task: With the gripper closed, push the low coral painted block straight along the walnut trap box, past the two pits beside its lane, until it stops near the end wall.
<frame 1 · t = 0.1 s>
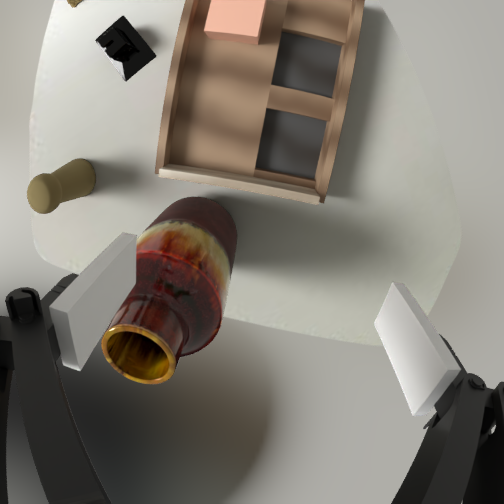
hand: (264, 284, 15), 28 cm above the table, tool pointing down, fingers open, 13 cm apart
trap box: (260, 77, 35), on the table
block: (238, 21, 30), point 2 cm above the table, touching trap box
black piece: (125, 47, 34), on the table
cork: (80, 177, 41), on the table
vase: (200, 228, 44), on the table
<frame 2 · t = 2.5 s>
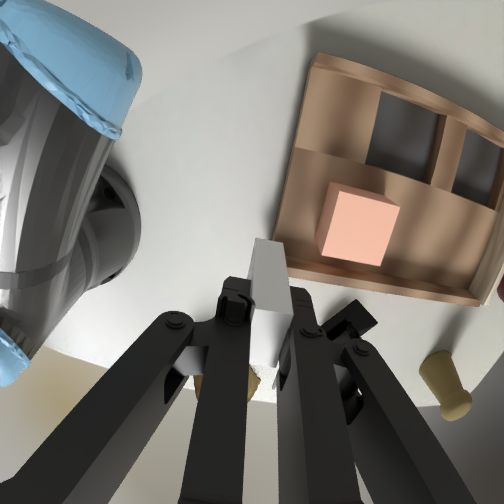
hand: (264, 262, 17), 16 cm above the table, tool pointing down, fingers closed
trap box: (411, 191, 31), on the table
block: (350, 216, 30), point 2 cm above the table, touching trap box
black piece: (338, 329, 39), on the table
rock: (228, 359, 41), on the table
cork: (434, 363, 42), on the table
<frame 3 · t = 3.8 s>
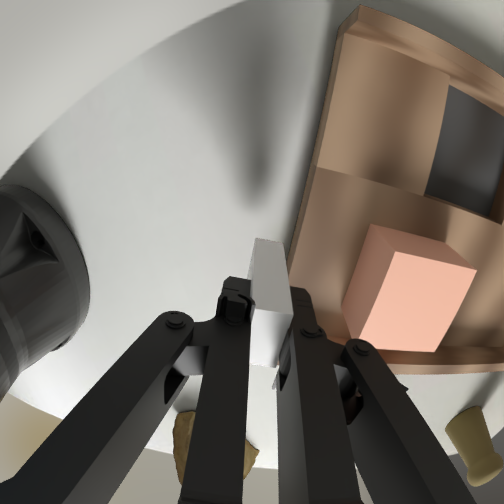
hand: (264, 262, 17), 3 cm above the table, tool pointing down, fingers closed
trap box: (473, 231, 19), on the table
block: (395, 275, 19), point 2 cm above the table, touching trap box
rock: (218, 432, 30), on the table
cork: (463, 419, 30), on the table
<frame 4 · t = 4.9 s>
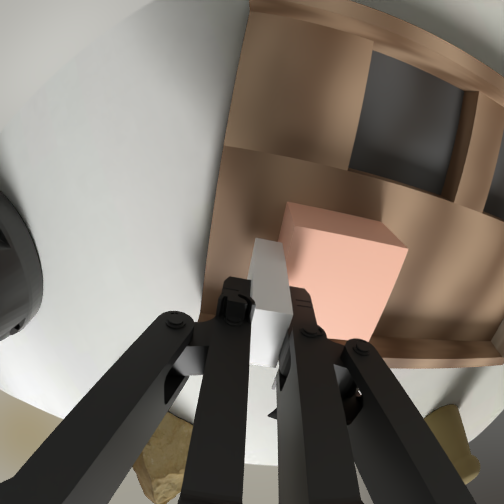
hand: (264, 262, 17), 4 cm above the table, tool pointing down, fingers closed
trap box: (422, 210, 19), on the table
block: (323, 257, 19), point 2 cm above the table, touching gripper, trap box
rock: (174, 421, 30), on the table
cork: (437, 417, 31), on the table
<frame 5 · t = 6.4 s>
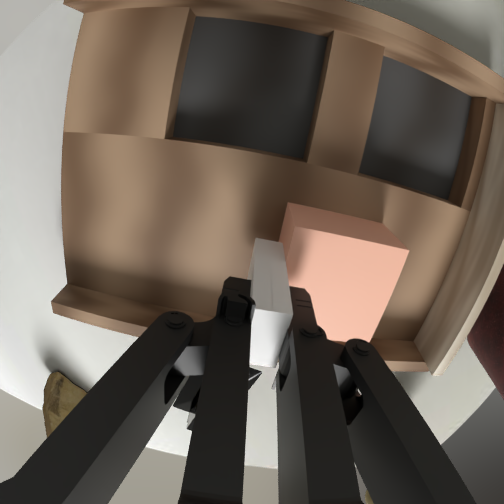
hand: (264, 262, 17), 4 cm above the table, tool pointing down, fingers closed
trap box: (281, 178, 19), on the table
block: (324, 258, 19), point 2 cm above the table, touching trap box
black piece: (214, 386, 28), on the table
rock: (89, 399, 30), on the table
vase: (495, 287, 22), on the table
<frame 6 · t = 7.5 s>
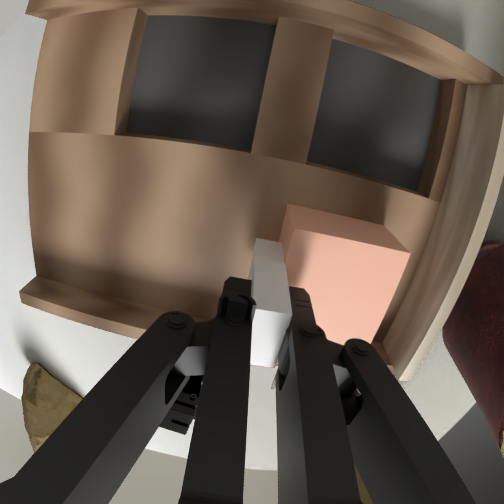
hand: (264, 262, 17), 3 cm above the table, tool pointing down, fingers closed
trap box: (231, 170, 18), on the table
block: (324, 261, 18), point 2 cm above the table, touching gripper, trap box
black piece: (183, 382, 27), on the table
rock: (67, 391, 29), on the table
vase: (477, 286, 21), on the table
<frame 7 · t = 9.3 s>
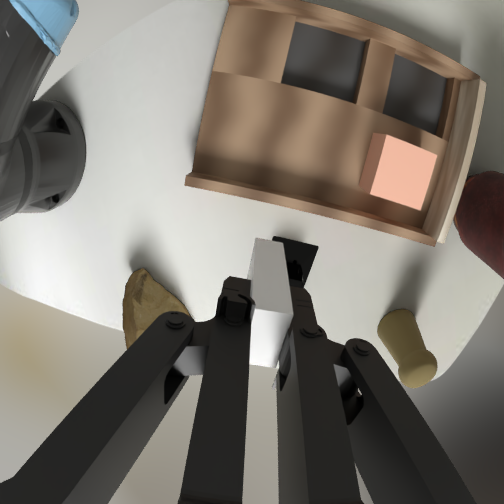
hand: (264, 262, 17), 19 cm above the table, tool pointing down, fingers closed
trap box: (339, 115, 30), on the table
block: (390, 167, 30), point 2 cm above the table, touching trap box
black piece: (284, 273, 39), on the table
rock: (163, 298, 41), on the table
cork: (395, 325, 41), on the table
vase: (475, 206, 33), on the table
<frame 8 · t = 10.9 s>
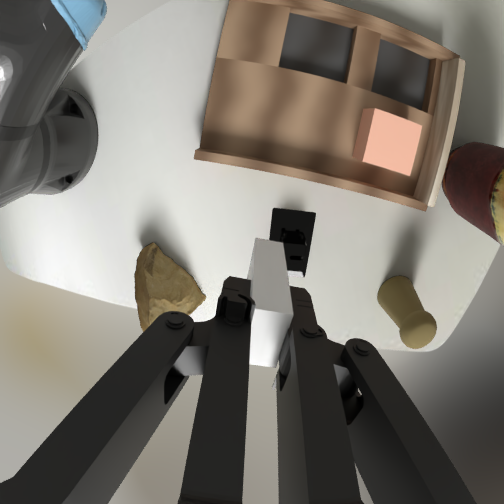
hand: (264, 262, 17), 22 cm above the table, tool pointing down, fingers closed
trap box: (332, 94, 33), on the table
block: (380, 139, 33), point 2 cm above the table, touching trap box
black piece: (289, 242, 42), on the table
rock: (173, 272, 43), on the table
cork: (394, 292, 44), on the table
vase: (464, 176, 36), on the table
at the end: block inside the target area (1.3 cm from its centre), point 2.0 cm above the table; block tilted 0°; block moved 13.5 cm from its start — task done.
